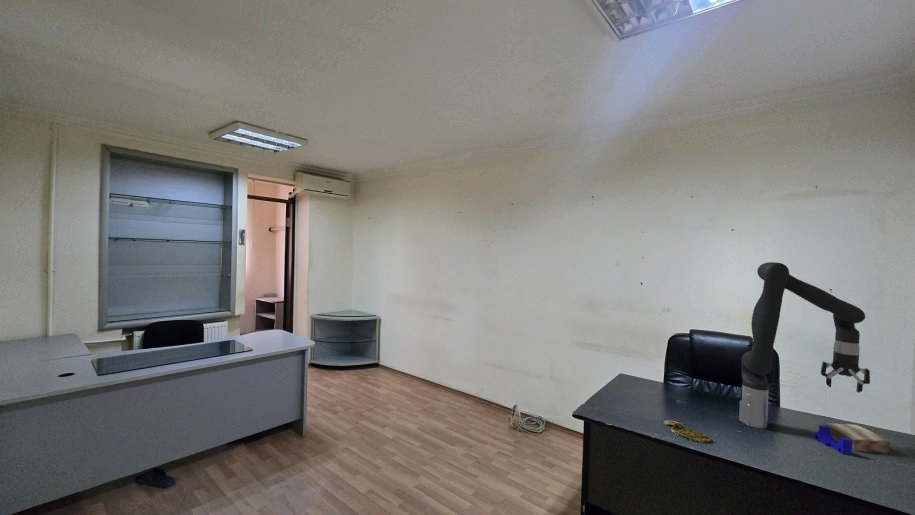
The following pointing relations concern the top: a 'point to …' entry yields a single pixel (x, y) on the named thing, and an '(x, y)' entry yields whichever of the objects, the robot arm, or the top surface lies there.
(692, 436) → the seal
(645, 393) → the top surface
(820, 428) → the cable clip
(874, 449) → the stand
